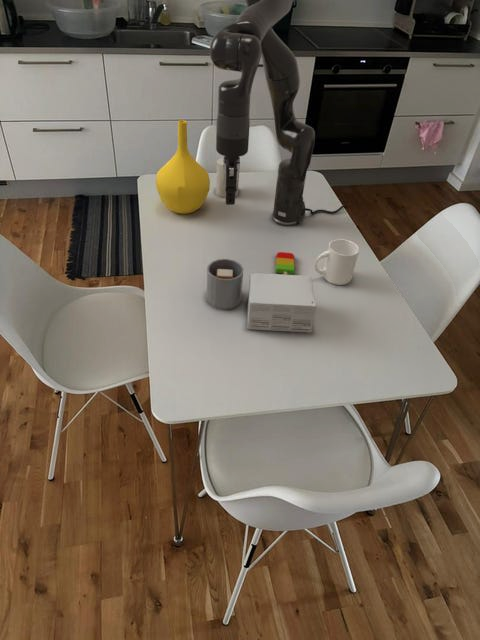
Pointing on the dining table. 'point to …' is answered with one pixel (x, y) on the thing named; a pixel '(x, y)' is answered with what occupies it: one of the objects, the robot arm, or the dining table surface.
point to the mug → (339, 261)
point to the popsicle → (285, 263)
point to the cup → (222, 179)
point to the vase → (182, 178)
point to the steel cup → (224, 284)
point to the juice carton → (224, 274)
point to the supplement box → (281, 302)
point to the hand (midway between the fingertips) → (230, 195)
